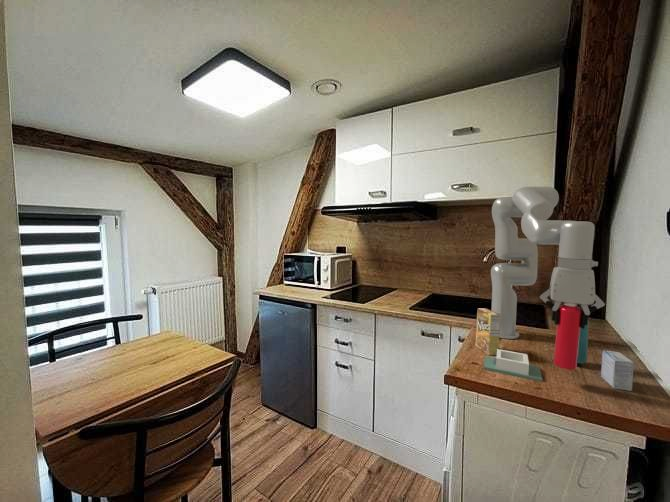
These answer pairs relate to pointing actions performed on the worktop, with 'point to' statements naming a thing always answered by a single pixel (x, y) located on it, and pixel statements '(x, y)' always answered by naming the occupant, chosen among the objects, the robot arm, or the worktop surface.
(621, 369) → the medicine box
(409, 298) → the worktop surface
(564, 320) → the bottle
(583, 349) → the beverage bottle
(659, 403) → the worktop surface
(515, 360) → the board
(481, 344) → the candy box
